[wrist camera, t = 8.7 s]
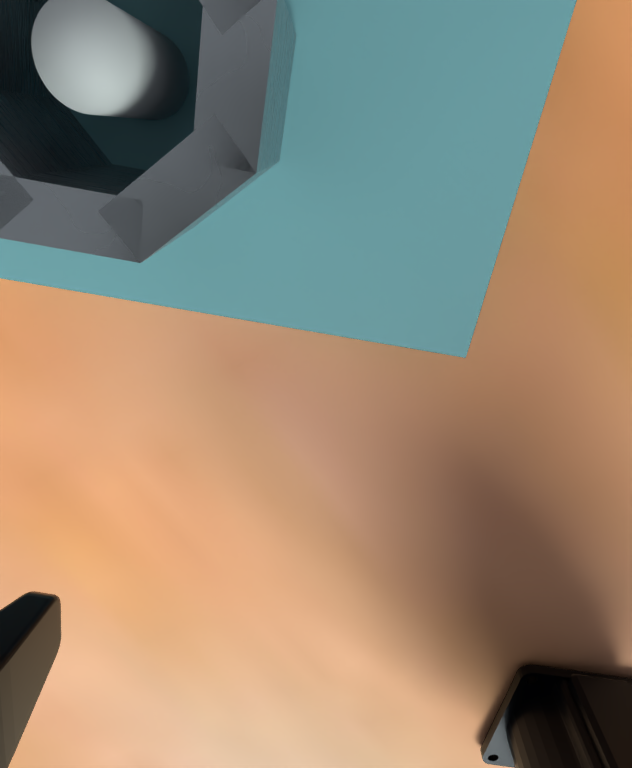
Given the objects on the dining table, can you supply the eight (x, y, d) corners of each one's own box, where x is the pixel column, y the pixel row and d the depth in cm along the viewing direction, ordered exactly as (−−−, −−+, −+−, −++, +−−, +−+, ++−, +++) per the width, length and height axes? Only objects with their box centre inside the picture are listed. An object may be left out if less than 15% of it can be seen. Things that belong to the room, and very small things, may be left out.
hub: (269, 238, 15) (243, 281, 11) (18, 192, 15) (-116, 218, 11) (310, -68, 12) (298, -184, 8) (2, -133, 12) (-194, -293, 8)
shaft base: (457, 344, 18) (503, 419, 13) (-169, 236, 17) (-363, 275, 12) (598, -124, 13) (752, -274, 8) (-279, -315, 12) (-679, -612, 7)
